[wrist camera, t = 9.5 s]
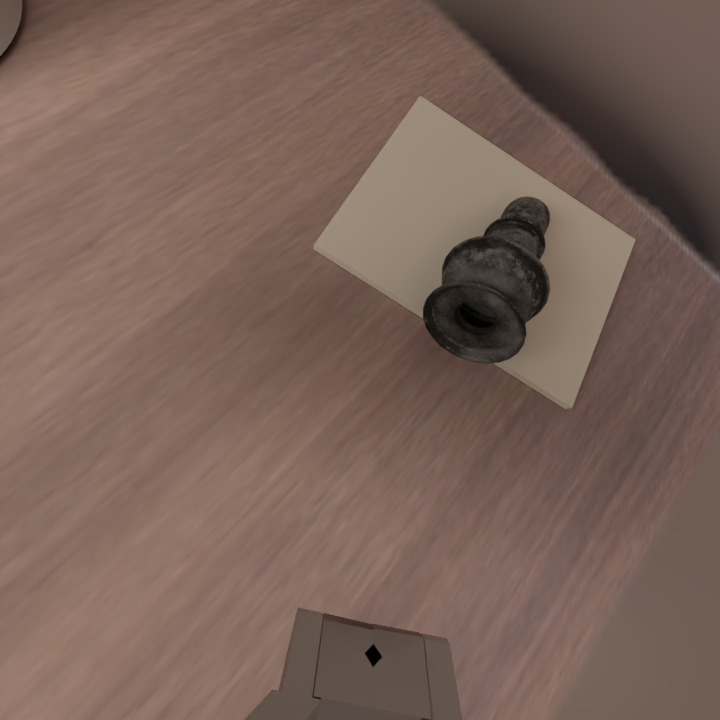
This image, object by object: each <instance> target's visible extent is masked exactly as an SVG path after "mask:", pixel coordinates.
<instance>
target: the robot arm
mask: <svg viewBox="0 0 720 720" xmlns="http://www.w3.org/2000/svg"><path fill="white" fill-rule="evenodd" d="M21 15H22V0H0V56H1V55H2V53H3V52H4V51H5V50H6V49H7V47H8V46H9V44H10V43H11V41H12V40H13V38H14V36H15V34H16V32H17V29H18V27H19V24H20V20H21ZM245 720H462V717H461V711H460V705H459V698H458V692H457V686H456V680H455V674H454V668H453V662H452V655H451V649H450V644H449V642H448V640H447V638H442V637H437V636H432V635H427V634H420V633H419V632H413V631H408V630H403V629H398V628H393V627H387V626H382V625H377V624H368V623H364V622H360V621H356V620H351V619H347V618H343V617H339V616H334V615H330V614H326V613H324V614H323V613H320V612H315V611H311V610H307V609H302V608H298V610H297V613H296V617H295V621H294V626H293V630H292V634H291V638H290V643H289V647H288V651H287V655H286V660H285V664H284V668H283V673H282V677H281V682H280V686H279V691H277V690H272V691H271V692H270V693H269V694H268V695H267V696H266V697H265V698H264V699H263V701H262V702H261V703H260V704H259V705H258V706H257V707H256V708H255V709H254V710H253V711H252V712H251V713H250V714H249V716H248V717H247V718H246V719H245Z"/></svg>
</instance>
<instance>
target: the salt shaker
mask: <svg viewBox="0 0 720 720" xmlns="http://www.w3.org/2000/svg"><path fill="white" fill-rule="evenodd" d="M549 222H550V212H549V210H548V207H547V206H546V205H545V203H543V202H542V201H541V200H539V199H537V198H534V197H528V196H527V197H520V198H517V199H515V200H514V201H512V202H511V203H510V204H509V205H508V206H507V207H506V208H505V210H504V212H503V213H502V215H501V217H500V219H497V220H496V221H494V222H492V223H491V224H490V225H489V226H488V227H487V229H486V231H485V233H484V235H483V236H477V237H474V238H470V239H467V240H464V241H462V242H461V243H459V244H458V245H456V246H455V247H453V249H452V250H451V251H450V252H449V253H448V255H447V256H446V258H445V260H444V263H443V266H442V286H440V287H438V288H437V289H435V290H433V291H432V293H431V294H430V295H429V296H428V297H427V299H426V301H425V304H424V307H423V319H424V322H425V325H426V328H427V330H428V331H429V333H430V334H431V336H432V337H433V338H434V339H435V341H436V342H437V343H438V344H439V345H440V346H442V347H443V348H444V349H446V350H447V351H449V352H450V353H452V354H454V355H456V356H458V357H460V358H462V359H465V360H469V361H472V362H478V363H486V364H488V363H499V362H502V361H505V360H508V359H510V358H512V357H513V356H515V355H516V354H517V353H518V352H519V351H520V349H521V348H522V347H523V345H524V343H525V338H526V334H527V333H526V326H525V323H527V322H528V321H529V320H531V319H532V318H533V317H534V316H536V315H537V314H538V313H540V312H541V310H542V309H543V307H544V306H545V305H546V303H547V301H548V297H549V293H550V282H549V276H548V274H547V272H546V269H545V267H544V265H543V264H542V263H541V261H540V259H541V257H542V255H543V254H544V251H545V246H546V245H545V238H544V235H545V233H546V230H547V228H548V226H549Z"/></svg>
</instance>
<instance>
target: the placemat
mask: <svg viewBox="0 0 720 720" xmlns="http://www.w3.org/2000/svg"><path fill="white" fill-rule="evenodd" d="M527 196H528V197H534V198H537V199H539V200H541V201H542V202H543V203H545V205H546V206H547V207H548V210H549V212H550V222H549V226H548V228H547V230H546V233H545V235H544V238H545V245H546V246H545V251H544V254H543V255H542V257H541V259H540V261H541V263H542V264H543V265H544V267H545V269H546V272H547V274H548V276H549V282H550V293H549V297H548V301H547V303H546V305H545V306H544V307H543V309H542V310H541V312H540V313H538V314H537V315H536V316H534V317H533V318H532V319H531V320H529V321H528V322H527V323H525V326H526V333H527V334H526V338H525V343H524V345H523V347H522V348H521V349H520V351H519V352H518V353H517V354H516V355H515V356H513V357H512V358H510V359H508V360H505V361H502V362H499V363H493V364H495V365H496V366H498V367H500V368H501V369H503V370H504V371H506V372H507V373H509V374H511V375H512V376H514V377H515V378H517V379H518V380H520V381H522V382H523V383H525V384H526V385H528V386H529V387H531V388H533V389H534V390H536V391H537V392H539V393H540V394H542V395H544V396H545V397H547V398H548V399H550V400H552V401H553V402H555V403H556V404H558V405H559V406H561V407H563V408H564V409H570V408H572V407H573V405H574V402H575V399H576V397H577V394H578V391H579V389H580V386H581V383H582V381H583V378H584V375H585V373H586V370H587V367H588V365H589V362H590V360H591V357H592V354H593V352H594V349H595V346H596V344H597V341H598V338H599V336H600V333H601V330H602V328H603V325H604V323H605V320H606V317H607V315H608V312H609V309H610V307H611V304H612V301H613V299H614V296H615V293H616V291H617V288H618V285H619V283H620V280H621V278H622V275H623V272H624V270H625V267H626V264H627V262H628V259H629V256H630V254H631V251H632V248H633V246H634V243H635V240H636V239H634V238H633V237H631V236H630V235H628V234H627V233H625V232H624V231H622V230H621V229H619V228H618V227H616V226H615V225H613V224H612V223H610V222H609V221H607V220H606V219H604V218H603V217H601V216H600V215H598V214H597V213H595V212H594V211H592V210H591V209H589V208H588V207H586V206H585V205H583V204H582V203H580V202H579V201H577V200H576V199H574V198H573V197H571V196H570V195H568V194H567V193H565V192H564V191H562V190H561V189H559V188H558V187H556V186H555V185H553V184H552V183H550V182H549V181H547V180H546V179H544V178H543V177H541V176H540V175H538V174H537V173H535V172H534V171H532V170H531V169H529V168H528V167H526V166H525V165H523V164H522V163H520V162H519V161H517V160H516V159H514V158H513V157H511V156H510V155H508V154H507V153H505V152H504V151H502V150H501V149H499V148H498V147H496V146H495V145H493V144H492V143H490V142H489V141H487V140H486V139H484V138H483V137H481V136H480V135H478V134H477V133H475V132H474V131H472V130H471V129H469V128H468V127H466V126H465V125H464V124H462V123H461V122H459V121H458V120H456V119H455V118H453V117H452V116H450V115H449V114H447V113H446V112H444V111H443V110H441V109H440V108H438V107H437V106H435V105H434V104H432V103H431V102H429V101H428V100H426V99H425V98H423V97H422V96H419V98H418V99H417V101H416V102H415V103H414V105H413V106H412V108H411V109H410V110H409V112H408V113H407V115H406V116H405V117H404V119H403V120H402V122H401V123H400V125H399V126H398V127H397V129H396V130H395V132H394V133H393V134H392V136H391V137H390V139H389V140H388V141H387V143H386V144H385V146H384V147H383V148H382V150H381V151H380V153H379V154H378V155H377V157H376V158H375V160H374V161H373V162H372V164H371V165H370V167H369V168H368V169H367V171H366V172H365V174H364V175H363V176H362V178H361V179H360V181H359V182H358V183H357V185H356V186H355V188H354V189H353V191H352V192H351V193H350V195H349V196H348V198H347V199H346V200H345V202H344V203H343V205H342V206H341V207H340V209H339V210H338V212H337V213H336V214H335V216H334V217H333V219H332V220H331V221H330V223H329V224H328V226H327V227H326V228H325V230H324V231H323V233H322V234H321V235H320V237H319V238H318V240H317V241H316V242H315V244H314V247H313V249H314V250H315V251H317V252H318V253H320V254H322V255H323V256H325V257H326V258H328V259H329V260H331V261H333V262H334V263H336V264H337V265H339V266H340V267H342V268H344V269H345V270H347V271H348V272H350V273H351V274H353V275H355V276H356V277H358V278H359V279H361V280H362V281H364V282H366V283H367V284H369V285H370V286H372V287H374V288H375V289H377V290H378V291H380V292H381V293H383V294H385V295H386V296H388V297H389V298H391V299H392V300H394V301H396V302H397V303H399V304H400V305H402V306H403V307H405V308H407V309H408V310H410V311H411V312H413V313H414V314H416V315H418V316H419V317H421V318H422V319H423V307H424V304H425V301H426V299H427V297H428V296H429V295H430V294H431V293H432V291H433V290H435V289H437V288H438V287H440V286H442V266H443V263H444V260H445V258H446V256H447V255H448V253H449V252H450V251H451V250H452V249H453V247H455V246H456V245H458V244H459V243H461V242H462V241H464V240H467V239H470V238H474V237H477V236H483V235H484V233H485V231H486V229H487V227H488V226H489V225H490V224H491V223H492V222H494V221H496V220H497V219H500V217H501V215H502V213H503V212H504V210H505V208H506V207H507V206H508V205H509V204H510V203H511V202H512V201H514V200H515V199H517V198H520V197H527Z"/></svg>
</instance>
